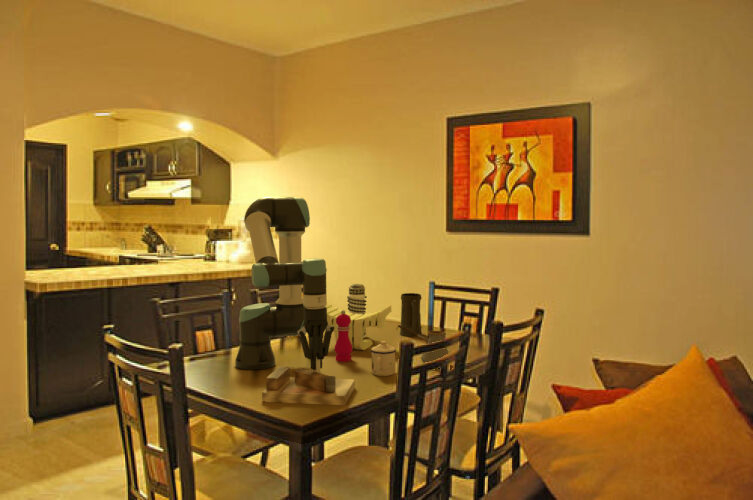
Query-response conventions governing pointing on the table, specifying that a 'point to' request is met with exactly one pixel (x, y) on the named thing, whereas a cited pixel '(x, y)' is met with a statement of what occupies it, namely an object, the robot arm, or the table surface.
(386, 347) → the teacup with lid
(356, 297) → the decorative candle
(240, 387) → the table surface
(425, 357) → the coffee pot
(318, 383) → the hinged leg
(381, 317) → the slatted curved stool
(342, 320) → the pepper mill
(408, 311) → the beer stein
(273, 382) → the wooden board with block
